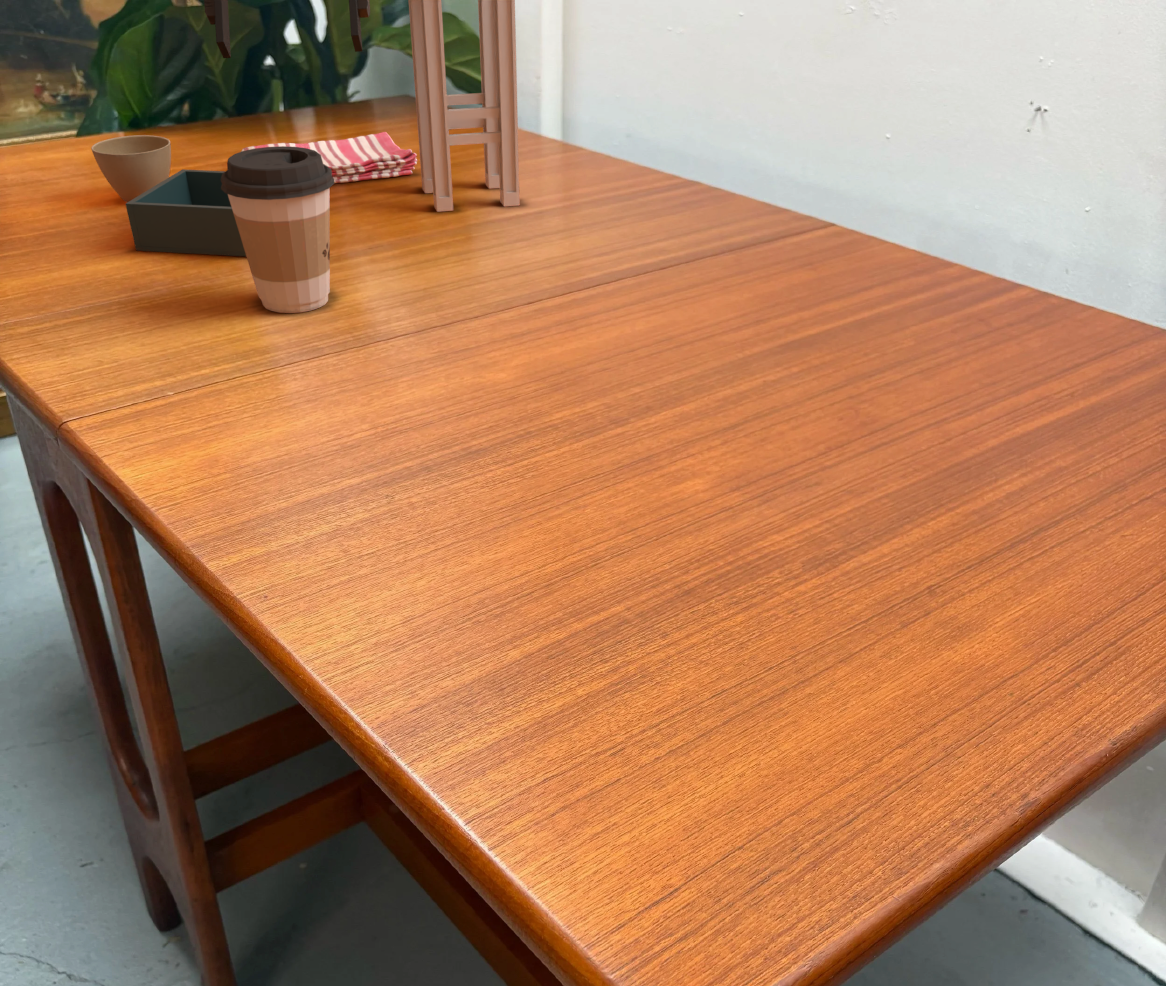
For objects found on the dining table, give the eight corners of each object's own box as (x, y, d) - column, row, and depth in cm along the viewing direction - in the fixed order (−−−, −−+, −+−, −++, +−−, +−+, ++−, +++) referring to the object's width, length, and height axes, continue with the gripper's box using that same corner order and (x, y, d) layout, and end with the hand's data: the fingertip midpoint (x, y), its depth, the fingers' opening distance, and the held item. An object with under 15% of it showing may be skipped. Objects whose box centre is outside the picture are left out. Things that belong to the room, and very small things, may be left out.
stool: (538, 208, 148) (534, -96, 128) (424, 217, 144) (402, -95, 124) (510, 178, 160) (502, -104, 140) (405, 186, 157) (381, -103, 137)
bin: (135, 250, 133) (125, 203, 129) (190, 213, 145) (182, 169, 142) (259, 257, 131) (252, 209, 128) (304, 218, 144) (298, 174, 140)
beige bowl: (113, 189, 154) (101, 135, 150) (187, 187, 155) (176, 134, 151) (95, 210, 146) (82, 154, 142) (173, 208, 147) (161, 152, 143)
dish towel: (421, 174, 162) (419, 149, 160) (262, 192, 153) (257, 166, 151) (386, 148, 174) (384, 125, 172) (238, 163, 166) (233, 139, 164)
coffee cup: (357, 312, 117) (340, 166, 108) (248, 326, 113) (221, 176, 105) (338, 278, 125) (321, 140, 117) (236, 289, 122) (210, 148, 113)
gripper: (402, -118, 120) (415, 62, 118) (170, -108, 119) (178, 74, 116) (393, -173, 113) (408, 17, 110) (146, -164, 111) (155, 30, 109)
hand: (290, 47), depth 113 cm, fingers open, 13 cm apart
